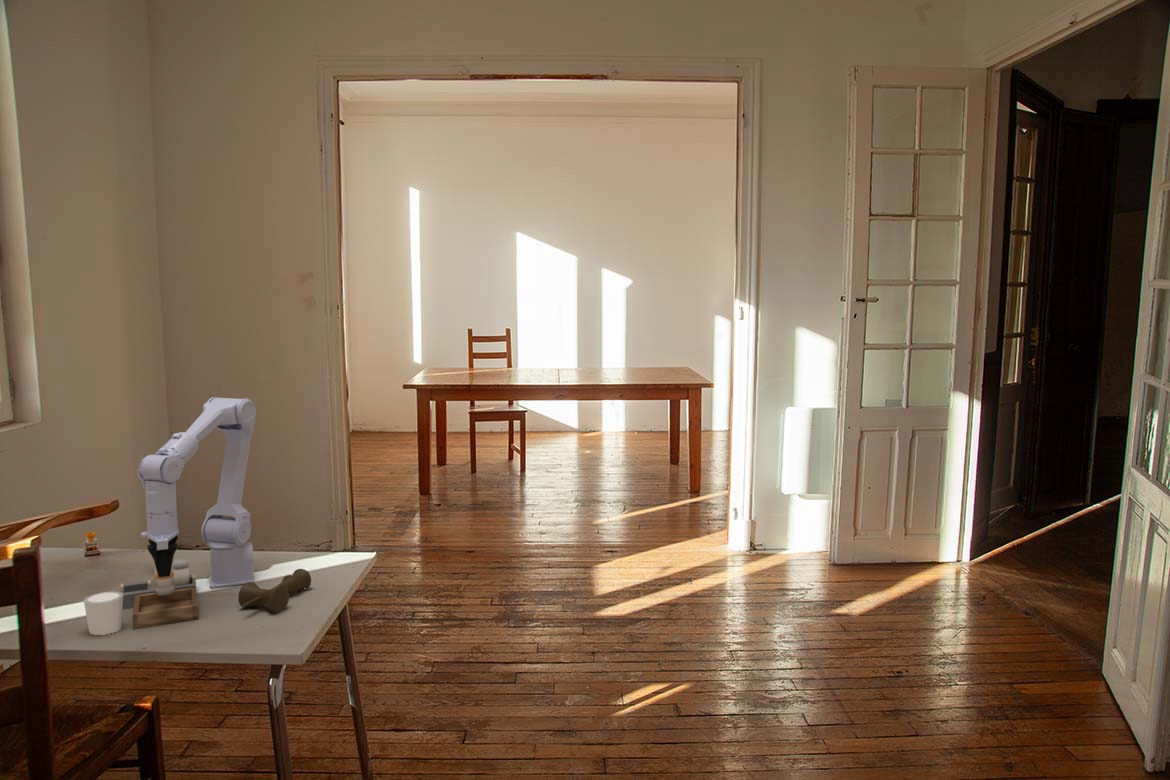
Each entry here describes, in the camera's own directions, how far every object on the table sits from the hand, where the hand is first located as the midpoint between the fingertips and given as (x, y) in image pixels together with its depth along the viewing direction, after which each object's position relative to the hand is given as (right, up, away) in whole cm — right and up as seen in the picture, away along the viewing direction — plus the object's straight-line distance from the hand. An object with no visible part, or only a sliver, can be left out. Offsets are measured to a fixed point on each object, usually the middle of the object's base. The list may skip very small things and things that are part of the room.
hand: (164, 573), depth 171 cm
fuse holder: (-6, -8, +10) cm, 14 cm away
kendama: (+20, -9, +8) cm, 24 cm away
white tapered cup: (-8, -10, -7) cm, 15 cm away
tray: (0, -9, +1) cm, 9 cm away
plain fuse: (-2, -8, +12) cm, 15 cm away
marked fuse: (0, -4, 0) cm, 4 cm away
